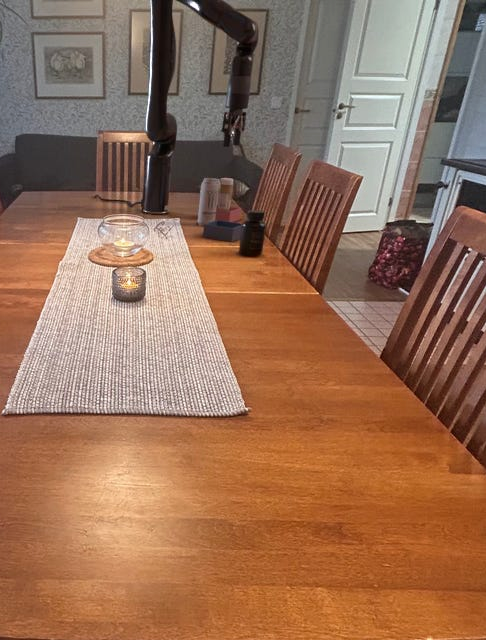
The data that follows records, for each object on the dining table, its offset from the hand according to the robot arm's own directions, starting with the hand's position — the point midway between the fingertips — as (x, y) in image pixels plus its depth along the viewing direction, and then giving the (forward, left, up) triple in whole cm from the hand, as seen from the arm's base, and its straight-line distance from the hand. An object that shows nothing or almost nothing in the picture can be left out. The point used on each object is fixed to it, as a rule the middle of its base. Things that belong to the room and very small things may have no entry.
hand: (231, 146), depth 207 cm
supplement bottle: (+29, -45, -25) cm, 59 cm away
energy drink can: (0, -14, -25) cm, 28 cm away
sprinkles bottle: (0, 0, -24) cm, 24 cm away
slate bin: (+13, -28, -24) cm, 39 cm away
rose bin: (0, 0, -24) cm, 24 cm away
